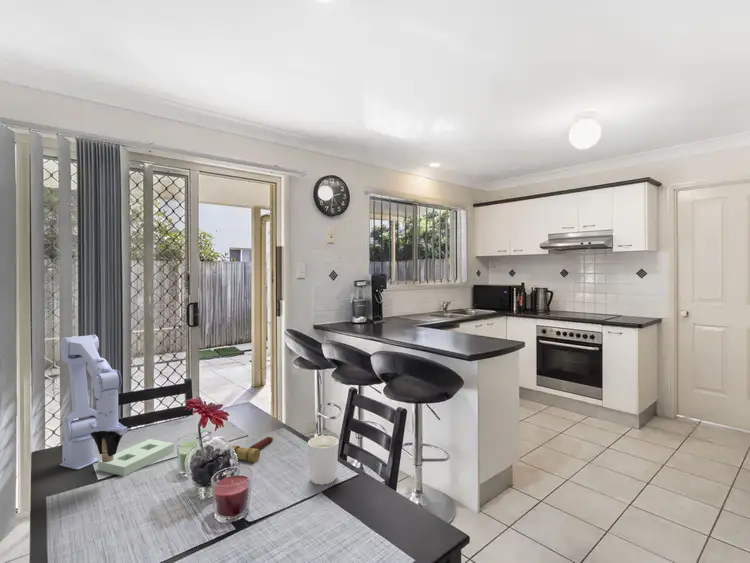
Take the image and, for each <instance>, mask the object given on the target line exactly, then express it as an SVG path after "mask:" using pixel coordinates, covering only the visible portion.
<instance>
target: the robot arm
mask: <svg viewBox="0 0 750 563" xmlns="http://www.w3.org/2000/svg"><path fill="white" fill-rule="evenodd" d="M59 345H60V347H59V348H60V358H61V362H63V363H66V364H67V365H68V373H69V385H70V387H69V388H70V397H71V408H72V409H71V411H70V412H69V413H67V414H66V415H65V416H64V418H63V420H62V428H61V429H62V430H61V431H62V436H63V439H64V441H63V444H62V448H61V450H62V451H61V452H62V455H61V456H62V462H61V463H59V465H60V466H61V467H64V468H65V467H66V468H69V469H73V470H78V471H79V470H81V469H83V468H86V467H88V466H90V465H92V464H95V463H97V462H98V461H100V460H102V458H101V457H95V456H96V454H95V447H97V450H98V454H99V455H102V438H104V439H105V442H106V445H107V454H108V456H112V455H114V454H116V453H117V450H118V448H119V443H120V441H121V439H122V437H123V436H124V435H126V434H127V433H128V426H125V425H123V424H122V423H121V422H119V389H121V387H122V381H123V380H122V374H121V372H120V371H119V370H117V369H113V368H112V367H111V365H110V363H109V362H108V361H107V359H105V358H104V357H101V356H100V353H99V352H98V350H99V348H100V340H99V337H98V336H97V335H96V334H90V335H79V336H69V337H66V336H65V337H63V338H62V339H61V341H60V344H59ZM86 363H87V365H86ZM87 372H88V374H89V375H90V377H91V379H92V387H93V390H94V391H93V392H94V394H93V395H94V398H96V399H95V400H96V401H95V404H96V405H95V407H96V410H95V409H93V408H91V407H90V402H89V390H88V389H89V388H88V380H87ZM95 444H96V446H95Z"/></svg>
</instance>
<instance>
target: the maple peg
mask: <svg viewBox="0 0 750 563" xmlns="http://www.w3.org/2000/svg"><path fill="white" fill-rule="evenodd" d="M101 460H102V462H110V461H112V460H113V455H112V456H108V454H107V445H106V442H105V439H104V438H102V454H101Z"/></svg>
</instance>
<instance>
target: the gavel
mask: <svg viewBox="0 0 750 563" xmlns="http://www.w3.org/2000/svg"><path fill="white" fill-rule="evenodd" d="M273 440H274V437H273V436H267V437H264V438H263V439H262V440H260V441H258V442H256V443H254V444H252V445H250V446H249V448H247V447H241V446H239V445H235V444H234V445H232V446H231V447H233V448H234V450H235V452H236V454H237V457H238V459H237V460H238V461H239V460H240V461H245V462H249V463H252V464H254V463H256V462H258V461H259V459H260V455H261V452H260V450H261V449H263V448H265V447H266V446H268V445H269V444H270V442H271V443H272V441H273ZM267 444H268V445H267Z"/></svg>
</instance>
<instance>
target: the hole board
mask: <svg viewBox="0 0 750 563" xmlns="http://www.w3.org/2000/svg"><path fill="white" fill-rule="evenodd" d="M174 452H175V444H174V443H173V442H168V441H163V440H157V439H153V438H148V439H146V440H144V441H142V442H139V443H137V444H135V445H132V446H130V447H128V448H127V447H126V448H125V449H122V450H121V451H119V452H116V454H114V455H113V460H112V461H110V462H102V459H101V460H100V461H97V462H98V463H97V466H98V467H97V471H99V472H100V471H101V472H104V473H108V474H113V475H116V476H121V477H126V476H128V475H130V474H132V473H134V472H136V471H138V470H140V469H142V468H144V467H146V466H147V465H150V464H152V463H154V462H157V461H158V460H160V459H163V458H164V457H165V456H168V455H170V454H172V453H174Z"/></svg>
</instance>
